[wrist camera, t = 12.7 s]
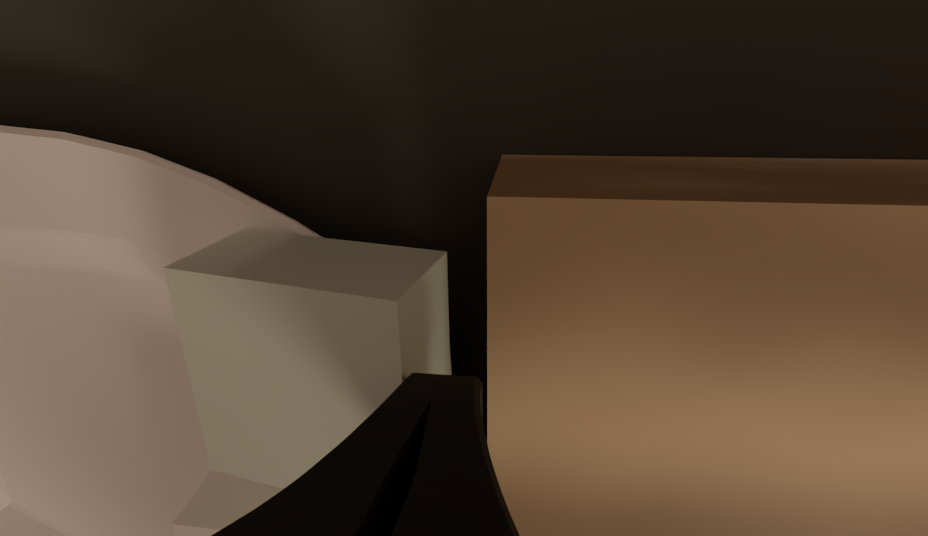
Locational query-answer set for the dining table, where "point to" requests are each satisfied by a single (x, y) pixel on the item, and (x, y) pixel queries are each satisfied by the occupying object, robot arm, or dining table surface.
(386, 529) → the robot arm
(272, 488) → the white tile
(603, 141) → the dining table surface
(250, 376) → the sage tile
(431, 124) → the dining table surface
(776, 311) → the oak board
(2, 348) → the pale beige plate
